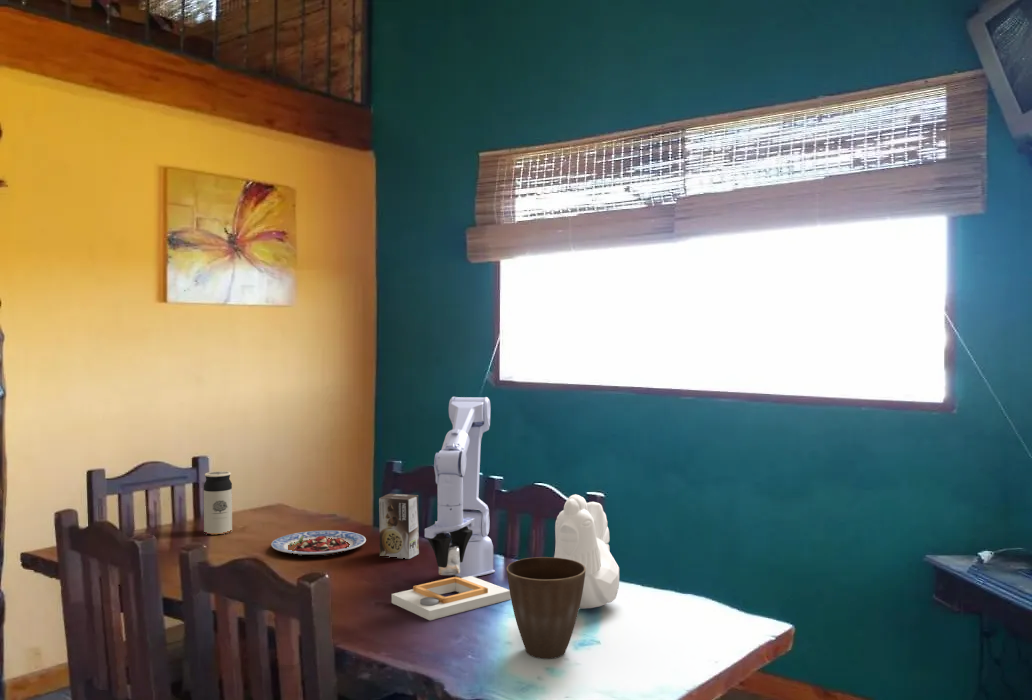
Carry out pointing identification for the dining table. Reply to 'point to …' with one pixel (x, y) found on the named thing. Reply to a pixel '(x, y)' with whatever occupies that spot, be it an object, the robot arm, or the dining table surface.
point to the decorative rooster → (588, 549)
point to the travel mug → (217, 502)
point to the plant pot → (546, 602)
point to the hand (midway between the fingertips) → (450, 564)
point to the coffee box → (399, 525)
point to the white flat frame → (449, 597)
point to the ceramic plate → (319, 542)
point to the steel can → (452, 561)
